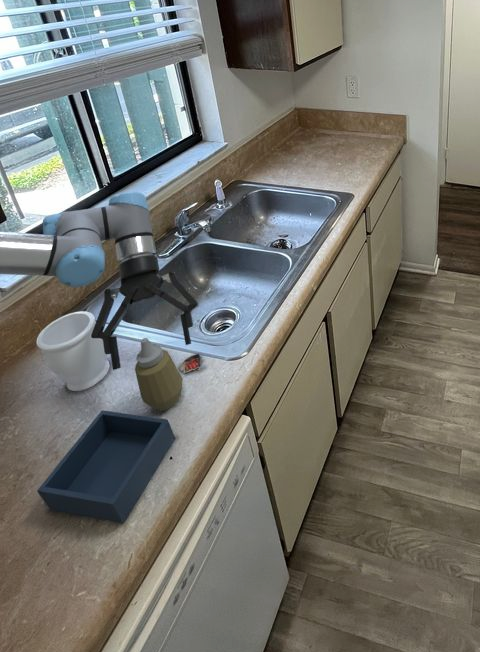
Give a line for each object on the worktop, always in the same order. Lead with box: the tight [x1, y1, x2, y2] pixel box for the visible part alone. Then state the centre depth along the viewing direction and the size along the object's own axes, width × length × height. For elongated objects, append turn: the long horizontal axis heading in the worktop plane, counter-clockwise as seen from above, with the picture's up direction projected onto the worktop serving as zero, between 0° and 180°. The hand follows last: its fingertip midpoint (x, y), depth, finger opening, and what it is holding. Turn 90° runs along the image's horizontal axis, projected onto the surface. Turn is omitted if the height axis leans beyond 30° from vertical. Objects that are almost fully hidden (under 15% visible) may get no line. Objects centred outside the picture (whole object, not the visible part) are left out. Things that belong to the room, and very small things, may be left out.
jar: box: [36, 310, 111, 392], centre depth 98 cm, size 11×10×15 cm
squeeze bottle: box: [134, 337, 184, 412], centre depth 92 cm, size 8×8×18 cm
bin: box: [36, 409, 176, 525], centre depth 81 cm, size 15×15×6 cm
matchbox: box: [179, 353, 202, 374], centre depth 103 cm, size 5×5×1 cm
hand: (153, 356), depth 93 cm, fingers open, 13 cm apart
